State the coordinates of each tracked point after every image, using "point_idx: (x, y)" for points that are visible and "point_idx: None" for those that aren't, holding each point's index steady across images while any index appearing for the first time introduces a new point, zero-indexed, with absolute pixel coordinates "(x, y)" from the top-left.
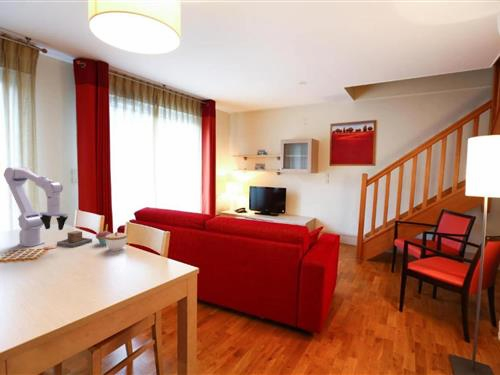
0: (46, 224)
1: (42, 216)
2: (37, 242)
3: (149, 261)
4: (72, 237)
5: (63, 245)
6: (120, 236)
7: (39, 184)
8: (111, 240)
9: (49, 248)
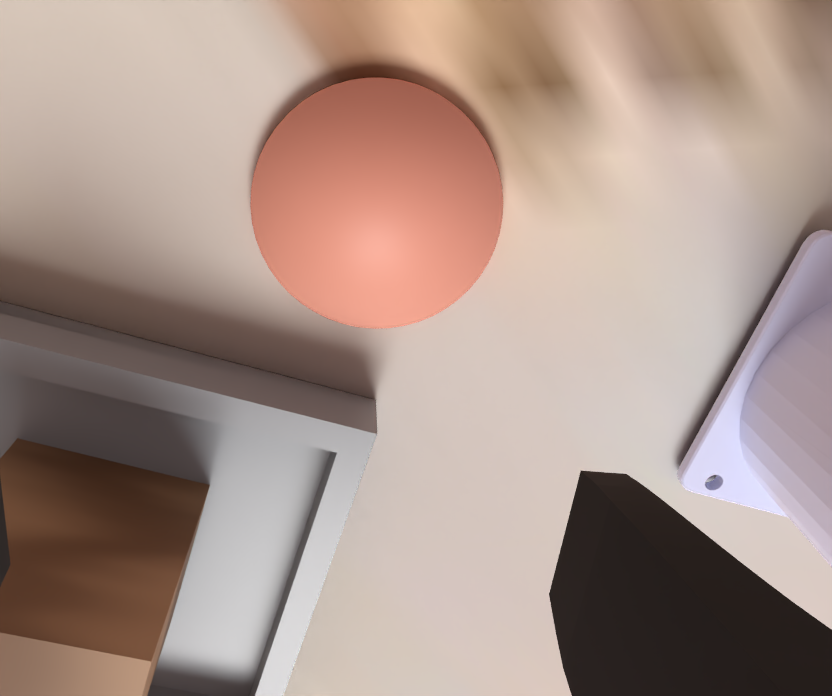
0: (675, 639)
1: None
2: (768, 391)
3: None
4: (12, 540)
5: (199, 357)
6: None
7: None
8: None
9: (326, 113)
